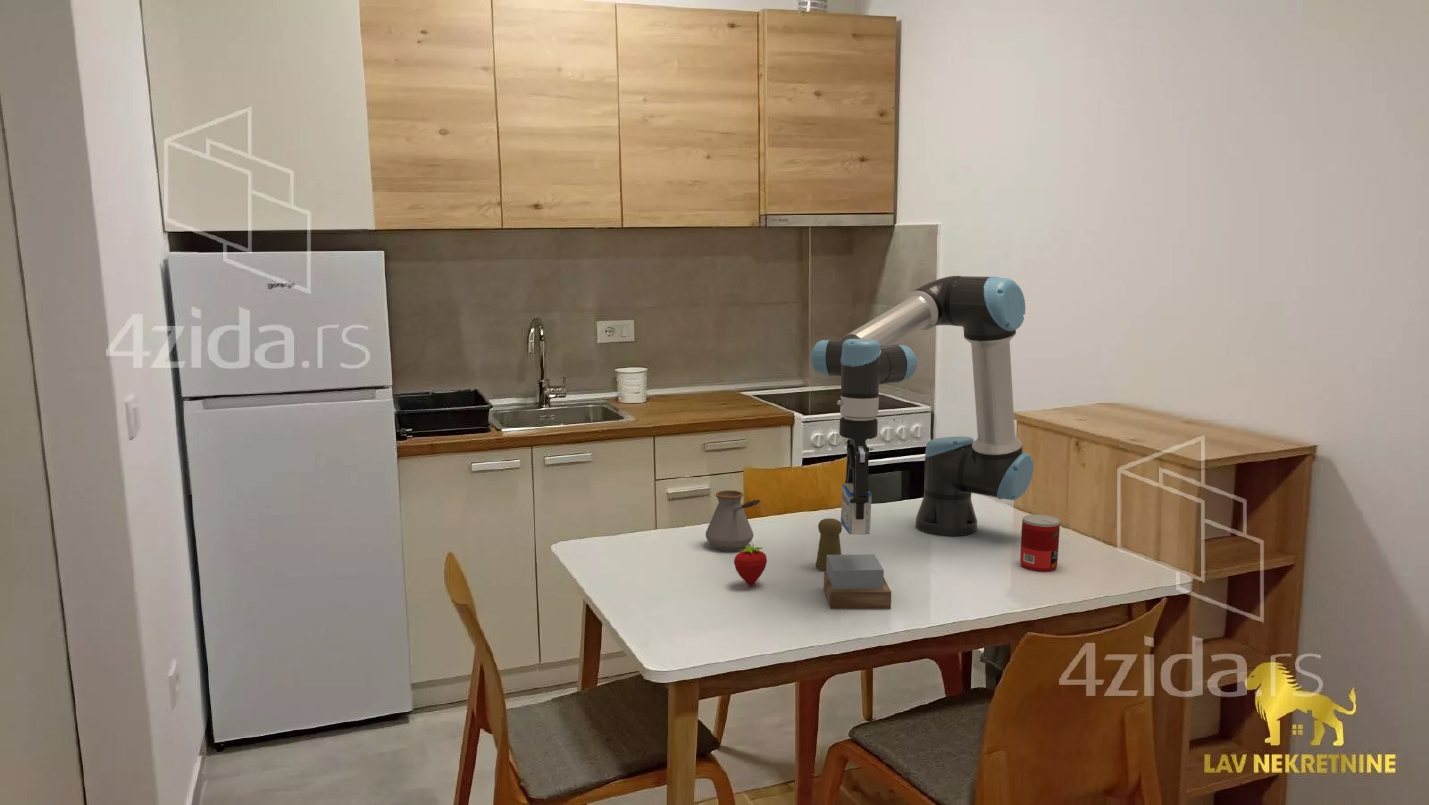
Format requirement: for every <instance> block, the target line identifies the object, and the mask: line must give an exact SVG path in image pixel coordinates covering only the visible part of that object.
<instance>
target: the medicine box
mask: <svg viewBox="0 0 1429 805" xmlns="http://www.w3.org/2000/svg"><path fill="white" fill-rule="evenodd" d="M841 487H842V488H841V508H840V512H841V513H840V523H841V525H842V528H844V529H845V531H846V532H847V534H848V535H852V534H851V526H852V503H850V500H853V499H854V497H853V483H845V482H844V483H842V486H841ZM868 498H869V501H868V502H867V503H866V532H865V535H870V533H871V521H872V520H871V519H872V517H871V516H872V515H871V514H872V492H871V491H870V490H869V489H868Z"/></svg>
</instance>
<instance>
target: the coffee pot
mask: <svg viewBox="0 0 1429 805" xmlns="http://www.w3.org/2000/svg"><path fill="white" fill-rule="evenodd" d="M743 496H744V493H743V492H742V491H739V490H720V491H717V492H716V494H715V497H716V498H717V501H718V503H717V505H716V508H715V511H714V512H713V515H712V517H711V520H710V522H709V524H708V527H707V528H706V530H705V538H706V540H707V542H708V543H710V545H711V546H714V547H715V549H716V550H720V551H727V552H728V551H729V552H731V551H739V550H741V549H746V545H747V546H748V545H749V544H750V543H752V542H751V541H752V540H753V538H754V532H753V529H752V527H751V524H750V522H749V519H748V517H747V515H746V513H745V510H744V509H747V508H751V507H753V506H754V508H755V509H758V510H760V509H762V507H764V505H765V504H764V502H763V501H762V500H760V499H753V500H752V501H751V500H750V501H747V502H745V503H743V504H742V503H741V500H742V497H743ZM759 503H761V504H762V507H760V508H759V507H756V505H759ZM750 540H751V541H750ZM714 547H713V548H714Z"/></svg>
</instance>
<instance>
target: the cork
mask: <svg viewBox="0 0 1429 805" xmlns="http://www.w3.org/2000/svg"><path fill="white" fill-rule="evenodd" d="M817 528H818V532H819V533H820V537H819V542H818V549H817V555H816V556H817V557H816V561H815V562H816V563H815V569H817V570H819V571H821V572H826V559H827V555H842V549H841V548H842V547H841V539H840V534H841V532H842V530H843V526H842V524H841V520H840V521H839V519H836V518H823V519H821V520H819V522H818V527H817Z"/></svg>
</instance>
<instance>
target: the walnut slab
mask: <svg viewBox="0 0 1429 805" xmlns="http://www.w3.org/2000/svg"><path fill="white" fill-rule="evenodd" d="M823 590H824V593H825V597H826V600H827V602H828V605H829V609H830V610H892V590H891V588H890V587H889V585H888V582H887V581H886V579H885V578H884V581H883V589H845V590H833V588H832V585H831V583H830V581H829V578H828V576H827V574H826V571H823Z"/></svg>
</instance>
